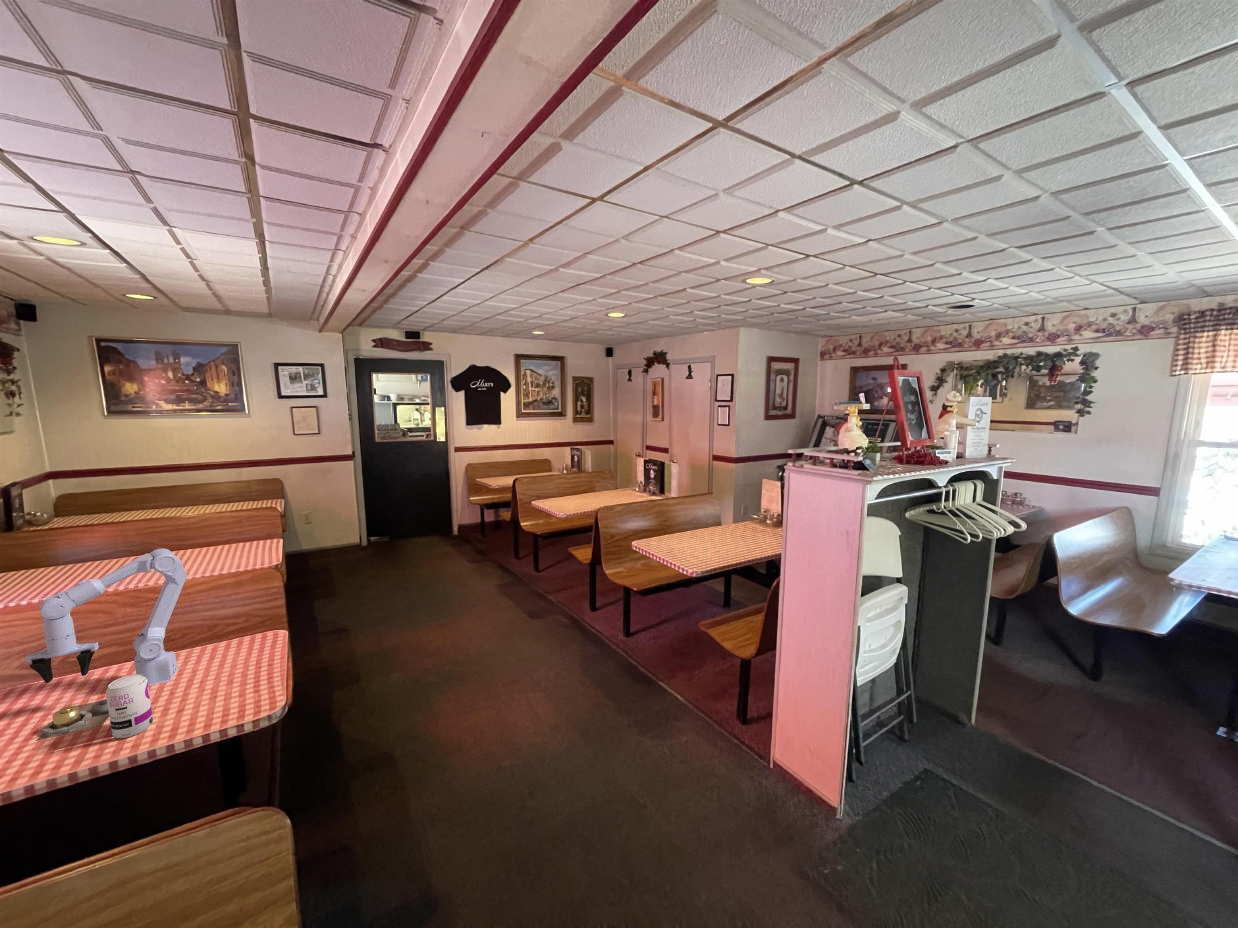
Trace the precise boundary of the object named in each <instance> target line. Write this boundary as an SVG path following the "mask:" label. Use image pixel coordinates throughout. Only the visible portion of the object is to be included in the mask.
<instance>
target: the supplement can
mask: <svg viewBox="0 0 1238 928" xmlns="http://www.w3.org/2000/svg"><path fill="white" fill-rule="evenodd" d="M105 697H106V698H105V699H107V704H108V711H109V724H110V729H111V736H112V737H113V738H117V739H127V738H131V737H134V736H136V735H138V734H142V732H144V731H146V730H147V729H149V728H150V727H151V725H152V724H153V723H154V715H153V709H152V703H151V701H152V700H151V696H150V688H149V686H148V680H147V678H145V677H144V676H143V675H142V674H136V673H134V674H129V675H125V676H123V677H120V678H117V679H115V680H113V681H112V682H110V683H109V684H108V686H107V688H106V691H105Z"/></svg>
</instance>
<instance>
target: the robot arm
mask: <svg viewBox="0 0 1238 928" xmlns="http://www.w3.org/2000/svg"><path fill="white" fill-rule="evenodd" d="M152 569H153V571H155V572H157V573H159V574H161V575H162V576H163V577H164V578H165V580H164V583H163V585H162V588H161V590H160V592H159V595H158V597H157V599H156V602H155V604H154V607H153V609H152V611H151V613H150V616H149V618H148V621H147V622H146V625H145V626H144V627H143V628H142V630H141V631H140V634H138V636H137V637H136V638H134V640H133V642H132V647H133V649H134V650H135V652H136V655H135V656H134V658H133V659H134V660H133V661H134V667H135V674H142V675H143V676H144V677H145V678H147V680H148V687H149V686H153V685H157V684H163V683H168V682H170V681H171V680H172V679H173V677H175V675H176V674H177V672H178V671H179V668H178V662H177V656H176V652H175V651H167V650H165V649H164V648H165V645H164V639H165V638H166V637H165V636H166V628H167V626H168V623H169V620H170V619H171V617H172V613H173V612H174V609H175V606H176V604H177V601H178V599H179V597H180V594H181V592H182V589H183V587H184V584H185V583H186V580H187V577H188V575H187V573H186V569H185V568H184V565H183V562H182V560H180V558H178V556H177V555H175V554H174V552H172V551H171V550H169V549H167V548H157V549H154V550H152V551H151V552H150V553H149V552H148V553H144V554H142V555H141V556H139V557H137V558H135V559H133V560H131V561H130V562H127V563H126V564H124V565H122V566H121V567H118V568H117V569H115V570H113V571H110V572H109V573H108V574H106V575H104V576H102V577H100V578H89V579H87V580H84V579H82V580H80V581H78V584H76V585H75V586H73V587H72V586H71V588H69V589H67V590H63V591H59V592H57V593H56V595H52V596H48V597H46V598H44V599H43V600H42V601H41V602H40V605H39V612H40V615H41V616H42V623H43V624H42V628H43V633H44V634H43V635H44V639H45V646H46V649H45V650H42V651H38V652H37V651H36V652H32V653H28V654H27V655H26V656H25V663H26V664H28V663H29V667H30V669H32V670H33V671H35V672H36V673H37V674H38V675H39V676H40V677H41V678H42V679H43V681H44V683H45V684H49V683H50V682H52V680H54V677H53V676H54V675H53V670H52V659H53V658H57V657H64V656H65V657H66V656H69V655H70V656H71V655H75V654H78V655H76V657H75V658H76V660H77V662H78V664H79V667H80V668H79V669H80V675H81V677H85V676H87V674H89V670H90V665H91V661H92V658H93V656H94V654H95V652H96V651H97V650H99V647H100V646H99V642H98V641H97V642H89V643H87V642H86V643H78V642H77V638H76V632H75V626H74V620H73V617H72V616H71V611H72V609H74V608H78V607H79V606H81V605H83V604H85V603H87V602H89V601H91V600H93V599H95V598H97V597H99V596H101V595H103V594H104V592H105V590H106V589H107V588H109V587H110V586H113V585H114V584H116V583H119V582H121V581H123V580H125V579H128V578H130V577H132V576H134V575H135V574H140V573H142V574H143V573H144V574H145V573H147V574H149V573H152ZM30 663H31V664H30Z"/></svg>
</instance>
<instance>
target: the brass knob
mask: <svg viewBox="0 0 1238 928" xmlns="http://www.w3.org/2000/svg"><path fill="white" fill-rule="evenodd" d="M51 717H52V721H53V722H54V728H55V730H56V729H60V728H65V727H68V726H71V725H73V724H75V723H77V722H79V721H81V715H80V709H79V706H78V705H69V706H65V707H62V708H60V709H59V710H58V711H55V712H54V713H53V714H52V716H51Z"/></svg>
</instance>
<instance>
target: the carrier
mask: <svg viewBox="0 0 1238 928" xmlns="http://www.w3.org/2000/svg"><path fill="white" fill-rule="evenodd" d="M77 706H79V709H80V715H81V721H79V722H77V723H75V724H73V725H71V726H68V727H65V728H60V729H56V730H55V728H54V722H53V720H51V721H50V722H48V724H47V725H45V726H44V727H43V729H42V732H43V733H42V734H41V735H40V736H39V737H38V738H37V739H36V740H35V741H36V742H38V741H42V740H46V739H50V738H55V737H56V738H57V737H60V736H65V735H68V734H74V733H78V732H83V731H87V730H92V729H96V728H99V727H103V725H104V723H106V721H107V720H108V719H110V717H109V711H108V704H107V698H105V699H102V700H98V701H94V702H89V703H84V704H78V705H77Z"/></svg>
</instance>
